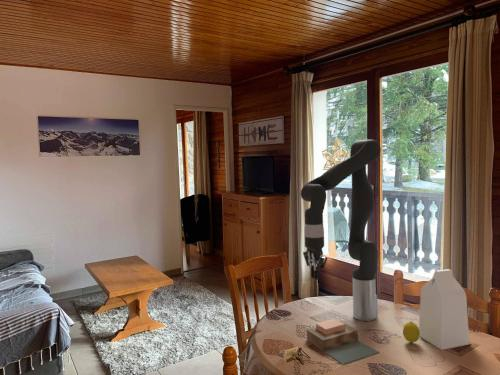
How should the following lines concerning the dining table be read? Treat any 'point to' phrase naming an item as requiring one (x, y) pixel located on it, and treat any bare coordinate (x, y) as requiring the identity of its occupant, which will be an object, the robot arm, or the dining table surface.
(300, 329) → the dining table surface
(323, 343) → the deck
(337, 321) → the pink sponge
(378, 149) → the robot arm
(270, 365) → the dining table surface
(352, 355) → the mat
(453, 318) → the milk
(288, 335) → the dining table surface
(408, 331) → the lemon
